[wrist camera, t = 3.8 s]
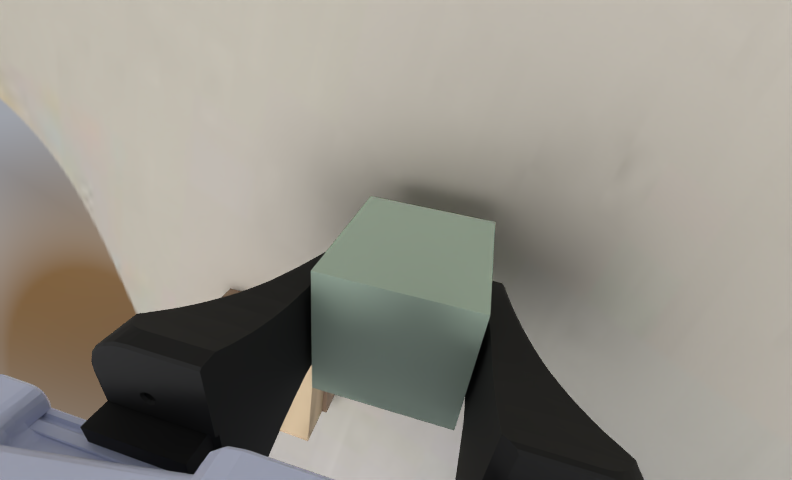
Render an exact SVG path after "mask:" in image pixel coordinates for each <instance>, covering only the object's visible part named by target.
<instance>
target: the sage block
mask: <svg viewBox="0 0 792 480" xmlns="http://www.w3.org/2000/svg"><path fill="white" fill-rule="evenodd" d="M494 235H495V222H493V221H488V220H484V219H479V218H474V217H469V216H464V215H460V214H455V213H450V212H445V211H440V210H436V209H431V208H426V207H421V206H416V205H412V204H407V203H402V202H397V201H392V200H388V199H383V198H378V197H373V196H371V197H370V198H369V199H368V200H367V202H366V203H365V204H364V205H363V207H362V208H361V209H360V210H359V212H358V213H357V214H356V215H355V216H354V218H353V219H352V220H351V221H350V223H349V224H348V225H347V226H346V228H345V229H344V230H343V231H342V233H341V234H340V235H339V236H338V238H337V239H336V240H335V241H334V243H333V244H332V245H331V246H330V248H329V249H328V250H327V251H326V253H325V254H324V255H323V256H322V258H321V259H320V260H319V261H318V262H317V264H316V265H315V266H314V267H313V269H312V270H311V341H312V388H315V389H319V390H322V391H325V392H329V393H332V394H335V395H339V396H342V397H345V398H349V399H352V400H355V401H358V402H362V403H365V404H368V405H372V406H375V407H378V408H382V409H385V410H388V411H392V412H395V413H398V414H402V415H405V416H408V417H412V418H415V419H418V420H422V421H425V422H428V423H432V424H435V425H438V426H442V427H445V428H448V429H451V430H454V429H455V426H456V423H457V420H458V416H459V413H460V410H461V407H462V404H463V401H464V397H465V394H466V391H467V388H468V385H469V382H470V378H471V375H472V372H473V369H474V366H475V362H476V359H477V356H478V353H479V350H480V347H481V343H482V340H483V337H484V334H485V331H486V328H487V324H488V321H489V318H490V313H491V293H492V274H493V255H494Z"/></svg>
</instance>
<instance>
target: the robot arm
mask: <svg viewBox="0 0 792 480" xmlns="http://www.w3.org/2000/svg"><path fill="white" fill-rule="evenodd" d="M325 253H326V252H324V253H323V254H321V255H319V256H318V257H316V258H314V259H312V260H310V261H309V262H307V263H305V264H303V265H301V266H299V267H298V268H296V269H294V270H291V271H289V272H287V273H285V274H283V275H281V276H279V277H277V278H275V279H273V280H271V281H268V282H266V283H263V284H261V285H258V286H256V287H253V288H250V289H248V290H245V291H242V292H239V293H235V294H232V295H229V296H225V297H222V298H219V299H215V300H211V301H207V302H203V303H199V304H194V305H190V306H185V307H180V308H174V309H168V310H161V311H154V312H148V313H140V314H136V315H135V316H134V317H132V318H131V319H130V320H128V321H127V322H126V323H124V324H123V325H122V326H120V327H119V328H118V329H117V330H115V331H114V332H113V333H111V334H110V335H109V336H108V337H106V338H105V339H104V340H102V341H101V342H100V343H98V344H97V345H96V346H95V348H94V349H93V351H92V365H93V368H94V371H95V373H96V376H97V378H98V380H99V382H100V385H101V387H102V389H103V391H104V393H105V396H106V398H107V400H108V401H107V402H106V403H105V404H104V405H103V406H102V407H101V408H100V409H99V410H98V411H97V412H95V413H94V414H93V415H92V416H91V417H90V418H89V419H88V420H85V419H82V418H79V417H76V416H73V415H71V414H68V413H65V412H62V411H59V410H57V409H54V408H51V404H50V402H49V399H48V398H47V396H46V395H45V393H44V392H43V391H42V390H41V389H39V388H38V387H36V386H34V385H32V384H30V383H27V382H24V381H21V380H18V379H15V378H13V377H10V376H7V375H4V374H0V480H334V479H331V478H328V477H325V476H322V475H319V474H316V473H314V472H311V471H308V470H305V469H302V468H299V467H296V466H293V465H290V464H287V463H284V462H281V461H278V460H276V459H273V458H270V457H268V456H269V454H270V451H271V449H272V447H273V444H274V442H275V440H276V438H277V435H278V433H279V431H280V428H281V426H282V424H283V422H284V420H285V418H286V415H287V413H288V411H289V409H290V407H291V405H292V402H293V400H294V398H295V396H296V394H297V392H298V390H299V388H300V386H301V384H302V382H303V380H304V378H305V376H306V374H307V372H308V370H309V368H310V367H311V365H312V341H311V270H312V269H313V267H314V266H315V265H316V264H317V262H318V261H319V260H320V259H321V258H322V256H323V255H324V254H325ZM456 480H644V479H643V477H642V474H641V472H640V470H639V467H638V465H637V462H636V460H635V459H634V458H633V457H632V456H631V455H629V454H628V453H627V452H626V451H625V450H624V449H623V448H622V447H621V446H619V445H618V444H617V443H616V442H615V441H614V440H613V439H612V438H610V437H609V436H608V435H607V434H606V433H605V432H604V431H603V430H602V429H601V428H600V427H599V426H598V425H597V424H596V423H595V422H594V421H593V420H592V419H591V418H590V417H589V416H588V415H587V414H586V413H585V412H584V411H583V410H582V409H581V408H580V407H579V406H578V405H577V404H576V403H575V402H574V401H573V399H572V398H571V397H570V396H569V395H568V394H567V392H566V391H565V390H564V389H563V388H562V387H561V385H560V384H559V383H558V382H557V380H556V379H555V378H554V377H553V375H552V374H551V373H550V371H549V370H548V369H547V367H546V366H545V364H544V363H543V362H542V360H541V359H540V357H539V356H538V354H537V352H536V351H535V349H534V347H533V346H532V344H531V342H530V341H529V339H528V337H527V335H526V334H525V332H524V330H523V328H522V326H521V324H520V322H519V320H518V318H517V316H516V314H515V312H514V309H513V307H512V305H511V303H510V300H509V298H508V295H507V293H506V290H505V287H504V285H503V284H502V283H499V282H494V281H492V293H491V313H490V318H489V321H488V324H487V328H486V331H485V334H484V337H483V340H482V343H481V347H480V350H479V353H478V356H477V359H476V362H475V366H474V369H473V372H472V375H471V378H470V382H469V385H468V388H467V391H466V394H465V411H464V423H463V430H462V438H461V445H460V453H459V459H458V466H457V473H456Z"/></svg>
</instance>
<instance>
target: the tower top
mask: <svg viewBox="0 0 792 480" xmlns="http://www.w3.org/2000/svg"><path fill="white" fill-rule="evenodd" d="M323 394H324V391H322V390H319V389H315V388H312V365H311V367H310V368H309V370H308V372H307V374H306V376H305V378H304V380H303V382H302V384H301V386H300V388H299V390H298V392H297V394H296V396H295V398H294V400H293V402H292V405H291V407H290V409H289V411H288V413H287V415H286V418H285V420H284V422H283V424H282V426H281V428H280V431H282V432H285V433H287V434H290V435H293V436H296V437H298V438H301V439H304V440H307V441H308V440H309V438H310V435H311V433H312V431H313V429H314V427H315V425H316V423H317V421H318V419H319V416H320V414H321V412H322V403H323Z"/></svg>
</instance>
